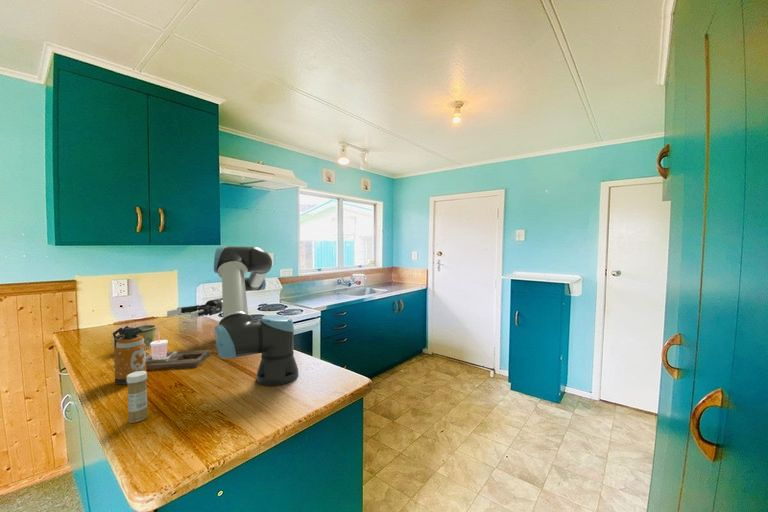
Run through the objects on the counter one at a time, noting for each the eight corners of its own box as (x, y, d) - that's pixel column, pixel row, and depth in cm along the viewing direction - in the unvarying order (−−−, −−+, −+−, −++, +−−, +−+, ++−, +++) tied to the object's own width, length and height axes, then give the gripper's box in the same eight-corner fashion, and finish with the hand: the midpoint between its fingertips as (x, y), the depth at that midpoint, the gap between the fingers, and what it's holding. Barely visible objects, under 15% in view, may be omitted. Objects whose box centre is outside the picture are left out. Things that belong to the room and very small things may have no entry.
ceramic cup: (152, 349, 146) (152, 329, 146) (126, 352, 142) (126, 331, 142) (161, 341, 158) (160, 322, 158) (137, 344, 154) (137, 324, 154)
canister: (128, 387, 108) (127, 331, 107) (103, 383, 110) (102, 329, 110) (152, 376, 117) (151, 324, 116) (129, 373, 119) (127, 322, 118)
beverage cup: (171, 361, 131) (170, 329, 131) (154, 366, 126) (154, 333, 126) (163, 359, 135) (163, 327, 134) (147, 363, 129) (146, 330, 129)
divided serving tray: (196, 367, 126) (196, 360, 126) (133, 370, 122) (133, 363, 122) (210, 354, 141) (210, 347, 141) (154, 357, 137) (154, 350, 137)
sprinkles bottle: (146, 413, 92) (145, 368, 91) (149, 419, 89) (148, 373, 88) (126, 419, 88) (125, 373, 88) (128, 425, 85) (127, 378, 85)
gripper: (236, 314, 157) (201, 324, 136) (197, 312, 163) (158, 321, 143) (236, 300, 157) (201, 307, 136) (196, 298, 163) (158, 305, 143)
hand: (179, 314), depth 140 cm, fingers open, 13 cm apart
